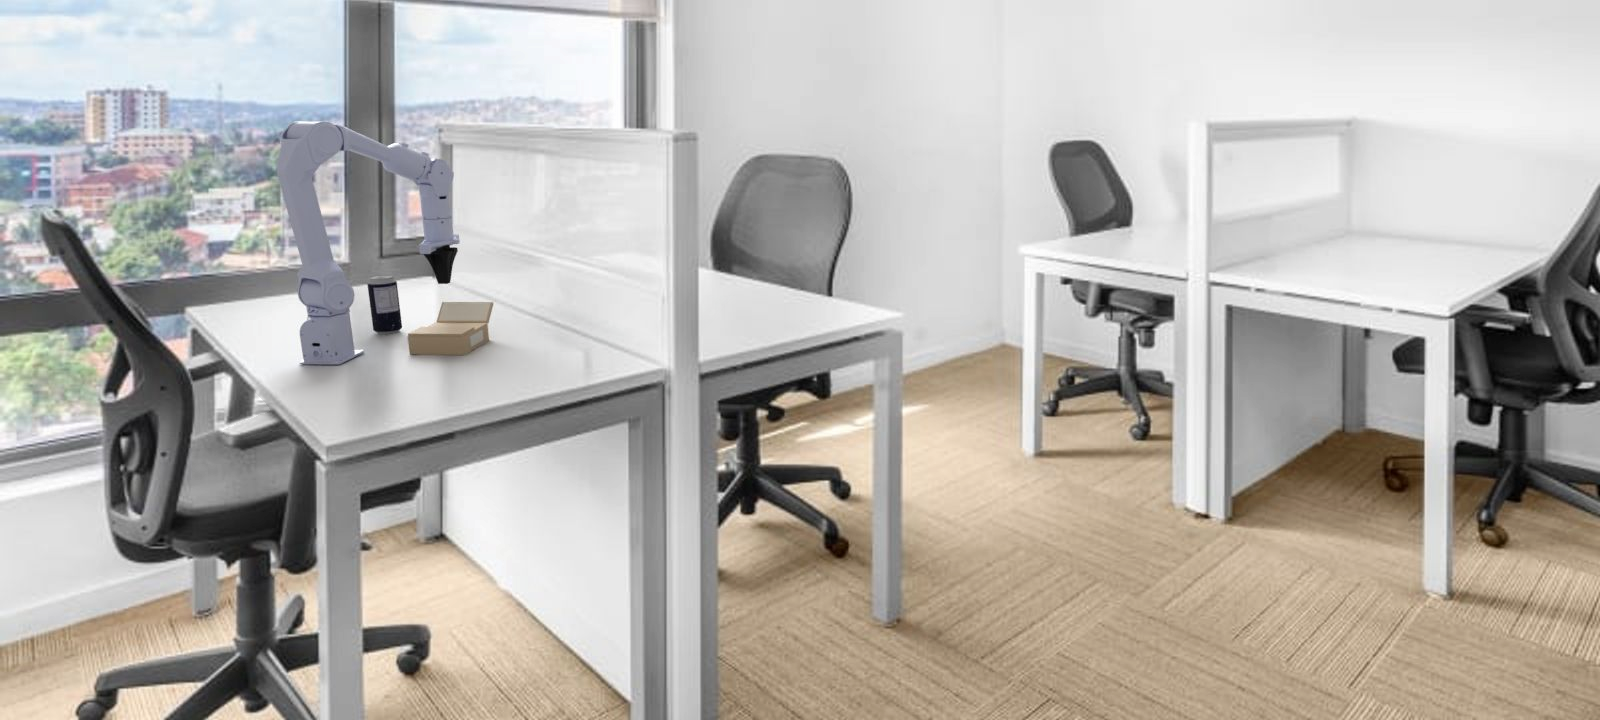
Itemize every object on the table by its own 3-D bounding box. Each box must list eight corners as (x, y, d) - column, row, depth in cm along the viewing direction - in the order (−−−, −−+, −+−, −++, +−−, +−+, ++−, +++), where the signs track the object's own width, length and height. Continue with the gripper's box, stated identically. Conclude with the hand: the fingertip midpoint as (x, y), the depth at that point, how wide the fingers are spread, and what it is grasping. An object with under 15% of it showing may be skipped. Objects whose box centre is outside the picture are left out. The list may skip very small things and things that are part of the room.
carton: (465, 354, 194) (463, 333, 193) (409, 354, 195) (407, 333, 194) (489, 340, 206) (487, 320, 204) (437, 339, 207) (434, 319, 206)
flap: (492, 302, 207) (493, 303, 208) (442, 301, 208) (443, 303, 209) (487, 321, 205) (488, 323, 205) (436, 321, 206) (437, 323, 206)
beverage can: (407, 329, 216) (400, 274, 213) (394, 335, 211) (387, 279, 208) (382, 329, 217) (375, 274, 214) (368, 335, 211) (361, 279, 208)
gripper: (440, 222, 200) (447, 289, 203) (470, 213, 214) (476, 277, 217) (406, 222, 201) (414, 289, 204) (438, 213, 215) (445, 277, 218)
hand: (444, 283), depth 211 cm, fingers closed
